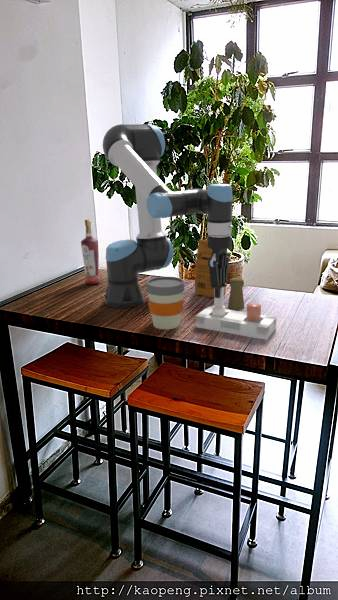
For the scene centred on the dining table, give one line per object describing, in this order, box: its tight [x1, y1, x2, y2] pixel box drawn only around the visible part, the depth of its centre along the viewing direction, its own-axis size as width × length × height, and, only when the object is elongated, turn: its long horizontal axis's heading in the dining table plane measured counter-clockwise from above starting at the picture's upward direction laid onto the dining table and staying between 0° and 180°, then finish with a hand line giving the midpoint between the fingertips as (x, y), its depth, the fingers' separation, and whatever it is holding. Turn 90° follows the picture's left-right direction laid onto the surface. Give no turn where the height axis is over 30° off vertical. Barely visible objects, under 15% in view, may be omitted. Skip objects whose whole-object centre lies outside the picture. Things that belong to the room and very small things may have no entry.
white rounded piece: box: [211, 304, 226, 318], centre depth 150 cm, size 4×4×4 cm
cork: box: [227, 277, 245, 311], centre depth 165 cm, size 6×6×11 cm
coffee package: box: [194, 238, 227, 298], centre depth 179 cm, size 10×12×22 cm
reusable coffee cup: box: [146, 276, 186, 330], centre depth 150 cm, size 13×13×15 cm
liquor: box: [80, 218, 101, 286], centre depth 196 cm, size 7×7×28 cm
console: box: [195, 305, 277, 340], centre depth 148 cm, size 24×10×4 cm, turn 61°
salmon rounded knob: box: [246, 302, 262, 321], centre depth 143 cm, size 4×4×4 cm
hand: (218, 306), depth 149 cm, fingers closed
